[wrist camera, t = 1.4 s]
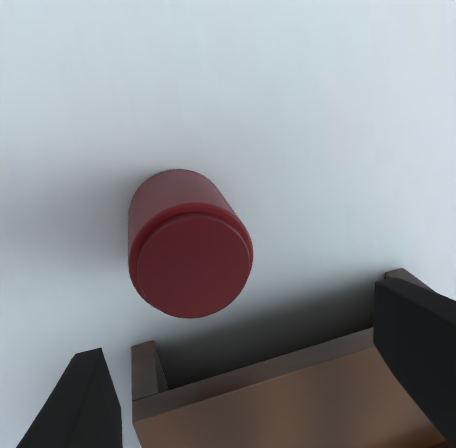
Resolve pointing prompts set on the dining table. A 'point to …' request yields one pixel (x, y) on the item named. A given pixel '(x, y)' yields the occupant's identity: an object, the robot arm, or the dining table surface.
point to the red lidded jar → (186, 245)
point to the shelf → (284, 401)
